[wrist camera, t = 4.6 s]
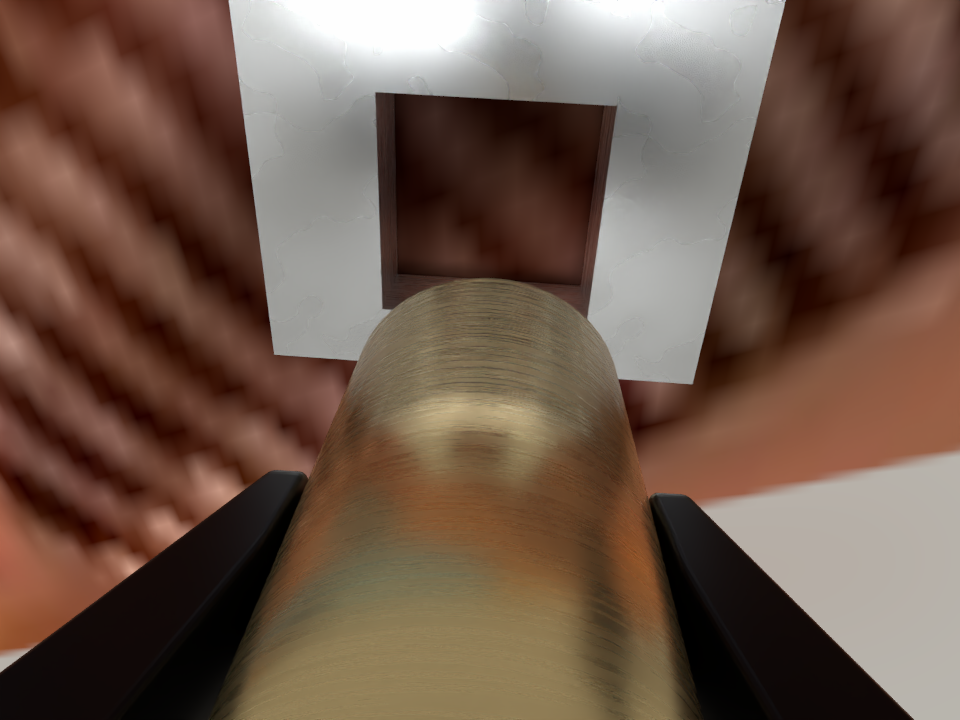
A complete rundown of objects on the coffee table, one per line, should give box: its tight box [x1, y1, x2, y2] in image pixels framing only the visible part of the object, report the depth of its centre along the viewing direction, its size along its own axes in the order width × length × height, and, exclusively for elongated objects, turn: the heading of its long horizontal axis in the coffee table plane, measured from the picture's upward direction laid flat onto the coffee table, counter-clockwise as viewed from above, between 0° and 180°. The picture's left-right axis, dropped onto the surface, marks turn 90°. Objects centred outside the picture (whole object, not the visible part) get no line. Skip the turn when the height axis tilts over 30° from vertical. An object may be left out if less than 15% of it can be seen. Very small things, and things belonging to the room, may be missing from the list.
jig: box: [229, 0, 786, 384], centre depth 16 cm, size 12×18×2 cm, turn 178°
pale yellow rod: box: [208, 278, 703, 720], centre depth 7 cm, size 4×4×8 cm
